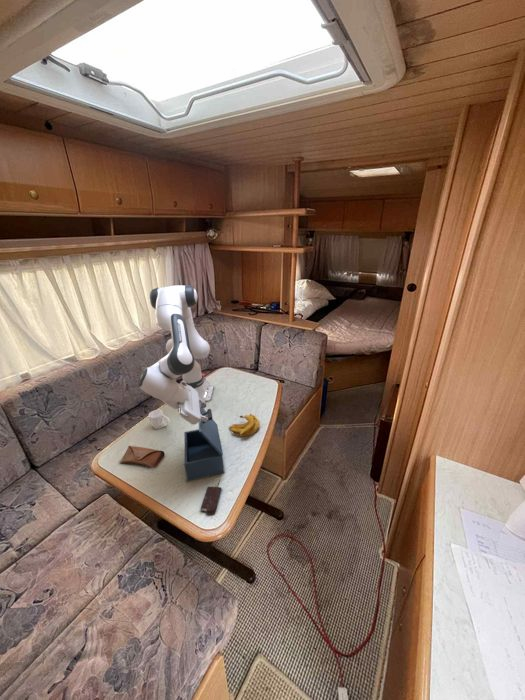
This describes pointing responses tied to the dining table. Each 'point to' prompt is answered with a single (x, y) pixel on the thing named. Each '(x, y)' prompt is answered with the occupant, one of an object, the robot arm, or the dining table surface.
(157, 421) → the cup
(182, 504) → the dining table surface
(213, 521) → the dining table surface
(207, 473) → the cool box
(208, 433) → the cool box lid
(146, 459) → the sunglasses case
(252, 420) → the banana
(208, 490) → the ice cream bar
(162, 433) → the dining table surface
